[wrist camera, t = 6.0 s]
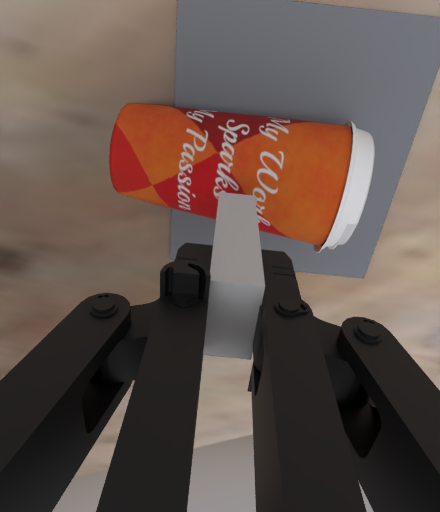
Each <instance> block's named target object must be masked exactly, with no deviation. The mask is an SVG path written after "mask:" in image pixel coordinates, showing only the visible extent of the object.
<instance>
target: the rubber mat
mask: <svg viewBox="0 0 440 512" xmlns="http://www.w3.org/2000/svg"><path fill="white" fill-rule="evenodd" d="M439 66H440V17H433V16H424V15H415V14H406V13H397V12H388V11H379V10H370V9H361V8H352V7H343V6H335V5H326V4H317V3H308V2H299V1H290V0H177V34H176V69H175V103H174V107H181V108H191V109H200V110H209V111H219V112H228V113H237V114H246V115H256V116H266V117H276V118H286V119H295V120H303V121H310V122H318V123H325V124H334V125H343V124H344V123H345V122H346V121H348V120H350V121H352V122H353V123H354V124H355V126H356V128H357V129H361V130H364V131H366V132H369V133H370V134H371V135H372V137H373V139H374V145H375V156H374V166H373V173H372V179H371V183H370V188H369V192H368V195H367V199H366V202H365V206H364V209H363V212H362V214H361V217H360V219H359V222H358V224H357V226H356V228H355V230H354V231H353V233H352V235H351V237H350V238H349V239H348V241H347V242H346V243H345V244H343V245H337V246H336V248H334V249H329V248H328V247H325V248H324V249H322V250H321V252H319V253H317V252H315V251H314V244H311V243H307V242H303V241H299V240H295V239H291V238H287V237H283V236H279V235H275V234H271V233H267V232H263V231H259V236H260V245H261V249H264V250H274V251H283V252H285V253H286V254H287V255H288V256H289V257H290V258H291V260H292V263H293V267H294V271H295V272H305V273H315V274H325V275H335V276H345V277H355V278H364V277H365V275H366V272H367V269H368V266H369V263H370V261H371V258H372V255H373V252H374V249H375V246H376V244H377V241H378V238H379V235H380V232H381V230H382V227H383V224H384V221H385V218H386V215H387V213H388V210H389V207H390V204H391V201H392V199H393V196H394V193H395V190H396V187H397V185H398V182H399V179H400V176H401V173H402V170H403V168H404V165H405V162H406V159H407V156H408V154H409V151H410V148H411V145H412V142H413V140H414V137H415V134H416V131H417V128H418V125H419V123H420V120H421V117H422V114H423V111H424V109H425V106H426V103H427V100H428V97H429V94H430V92H431V89H432V86H433V83H434V80H435V78H436V75H437V72H438V69H439ZM215 225H216V219H212V218H208V217H204V216H200V215H196V214H192V213H188V212H184V211H180V210H176V209H172V208H171V242H170V259H176V254H177V251H178V249H179V248H180V247H181V246H182V245H183V244H185V243H196V244H205V245H213V242H214V233H215Z"/></svg>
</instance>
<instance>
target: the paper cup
mask: <svg viewBox="0 0 440 512" xmlns="http://www.w3.org/2000/svg"><path fill="white" fill-rule="evenodd" d="M374 156H375V145H374V139H373V137H372V135H371V134H370V133H369V132H366V131H364V130H361V129H357V128H356V126H355V124H354V123H353V122H352V121H350V120H348V121H346V122H345V123H344V124H343V125H334V124H325V123H318V122H310V121H303V120H295V119H286V118H276V117H266V116H256V115H246V114H237V113H228V112H219V111H209V110H200V109H191V108H181V107H172V106H162V105H151V104H138V103H129V104H127V105H125V106H124V107H123V108H122V109H121V111H120V113H119V115H118V117H117V119H116V122H115V125H114V128H113V132H112V137H111V144H110V155H109V165H110V175H111V180H112V183H113V186H114V188H115V190H116V191H117V192H118V193H119V194H122V195H125V196H128V197H131V198H135V199H138V200H142V201H146V202H149V203H153V204H157V205H161V206H165V207H169V208H172V209H176V210H180V211H184V212H188V213H192V214H196V215H200V216H204V217H208V218H212V219H216V217H217V208H218V200H219V192H224V193H233V194H243V195H252V196H255V200H256V209H257V218H258V227H259V231H263V232H267V233H271V234H275V235H279V236H283V237H287V238H291V239H295V240H299V241H303V242H307V243H311V244H314V251H315V252H317V253H319V252H321V250H322V249H324V248H325V247H328V248H329V249H334V248H336V246H337V245H343V244H345V243H346V242H347V241H348V239H349V238H350V237H351V235H352V233H353V231H354V230H355V228H356V226H357V224H358V222H359V219H360V217H361V214H362V212H363V209H364V206H365V202H366V199H367V195H368V192H369V188H370V183H371V179H372V173H373V166H374Z"/></svg>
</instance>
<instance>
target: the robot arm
mask: <svg viewBox="0 0 440 512" xmlns="http://www.w3.org/2000/svg"><path fill="white" fill-rule="evenodd" d="M252 352H253V358H254V361H253V366H252V371H251V376H250V381H249V386H248V391H250V392H251V391H252V413H253V437H254V438H253V439H254V466H255V491H256V492H255V494H256V512H366V508H365V504H364V501H363V497H362V493H361V490H360V486H359V483H360V485H361V486H362V489H363V491H364V493H365V495H366V497H367V499H368V501H369V503H370V505H371V507H372V509H373V511H374V512H440V391H439V389H438V388H437V387H436V386H435V385H434V383H433V382H432V381H431V380H430V379H429V377H428V376H427V375H426V374H425V373H424V372H423V370H422V369H421V368H420V367H419V366H418V364H417V363H416V362H415V361H414V360H413V358H412V357H411V356H410V355H409V354H408V353H407V351H406V350H405V349H404V348H403V347H402V345H401V344H400V343H399V342H398V341H397V339H396V338H395V337H394V336H393V335H392V334H391V332H390V331H389V330H387V329H386V328H385V327H384V326H383V325H381V324H379V323H377V322H376V321H374V320H371V319H367V318H364V317H352V318H347V319H346V320H345V321H344V322H343V323H342V326H341V327H340V326H337V325H334V324H331V323H327V322H325V321H322V320H320V319H318V318H316V317H314V316H313V313H312V310H311V308H310V307H309V305H308V304H307V303H305V302H304V301H303V300H301V296H300V292H299V288H298V284H297V280H296V277H295V272H294V267H293V263H292V260H291V258H290V257H289V256H288V255H287V254H286V253H285V252H283V251H274V250H264V249H261V245H260V236H259V227H258V218H257V209H256V200H255V196H252V195H243V194H233V193H224V192H219V200H218V208H217V217H216V225H215V233H214V242H213V245H205V244H196V243H185V244H183V245H182V246H181V247H180V248H179V249H178V251H177V254H176V259H175V261H174V262H170V263H169V264H167V265H165V266H164V267H163V268H162V270H161V271H160V298H159V299H158V300H156V301H154V302H151V303H148V304H143V305H135V306H130V303H129V301H128V300H127V299H126V298H125V297H123V296H120V295H118V294H112V293H102V294H96V295H93V296H90V297H88V298H87V299H85V300H84V301H82V302H81V303H80V304H79V305H78V306H77V307H76V308H75V309H74V310H73V311H72V312H71V313H70V314H68V315H67V316H66V317H65V318H64V319H63V320H62V321H61V322H60V323H59V324H58V325H57V326H56V327H55V328H54V329H53V330H52V331H51V332H50V333H49V334H48V335H47V336H46V337H45V338H44V339H43V340H42V341H41V342H40V343H39V344H38V345H37V346H36V347H34V348H33V349H32V350H31V351H30V352H29V353H28V354H27V355H26V356H25V357H24V358H23V359H22V360H21V361H20V362H19V363H18V364H17V365H16V366H15V367H14V368H13V369H12V370H11V371H10V372H9V373H8V374H7V375H6V376H5V377H4V378H3V379H2V380H0V512H52V511H53V509H54V507H55V506H56V504H57V502H58V501H59V499H60V498H61V496H62V495H63V493H64V491H65V490H66V488H67V486H68V485H69V483H70V482H71V480H72V479H73V477H74V475H75V474H76V472H77V471H78V469H79V467H80V466H81V464H82V463H83V461H84V459H85V458H86V456H87V455H88V453H89V451H90V450H91V448H92V447H93V445H94V443H95V442H96V440H97V439H98V437H99V435H100V434H101V432H102V431H103V429H104V427H105V426H106V424H107V423H108V421H109V419H110V418H111V416H112V415H113V413H114V411H115V410H116V408H117V407H118V405H119V403H120V402H121V400H122V399H123V397H124V395H125V394H126V392H127V391H128V389H129V387H130V386H131V383H132V380H135V383H134V386H133V389H132V393H131V396H130V399H129V403H128V406H127V410H126V413H125V416H124V420H123V423H122V426H121V430H120V433H119V436H118V440H117V443H116V447H115V450H114V453H113V457H112V460H111V463H110V467H109V470H108V474H107V477H106V480H105V484H104V487H103V490H102V494H101V497H100V500H99V504H98V507H97V511H96V512H187V504H188V494H189V485H190V475H191V466H192V455H193V447H194V437H195V428H196V418H197V409H198V399H199V390H200V380H201V371H202V360H203V355H210V356H220V357H230V358H240V359H250V360H251V357H252ZM358 480H359V482H358Z"/></svg>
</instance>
